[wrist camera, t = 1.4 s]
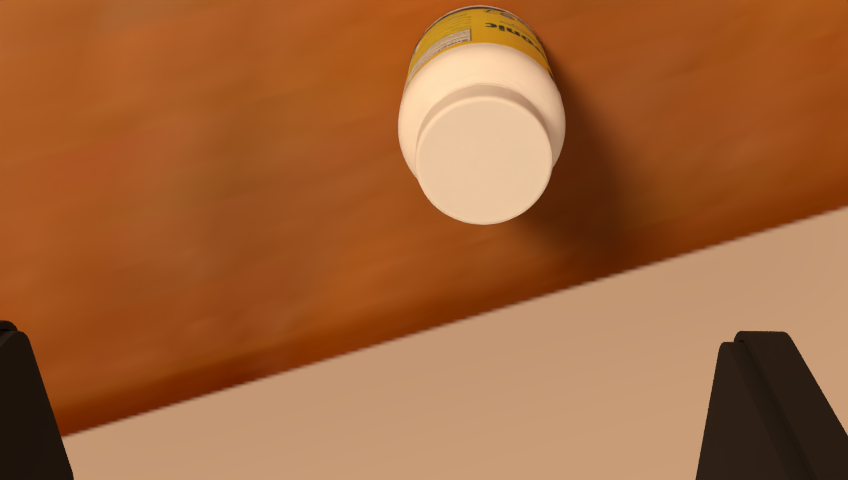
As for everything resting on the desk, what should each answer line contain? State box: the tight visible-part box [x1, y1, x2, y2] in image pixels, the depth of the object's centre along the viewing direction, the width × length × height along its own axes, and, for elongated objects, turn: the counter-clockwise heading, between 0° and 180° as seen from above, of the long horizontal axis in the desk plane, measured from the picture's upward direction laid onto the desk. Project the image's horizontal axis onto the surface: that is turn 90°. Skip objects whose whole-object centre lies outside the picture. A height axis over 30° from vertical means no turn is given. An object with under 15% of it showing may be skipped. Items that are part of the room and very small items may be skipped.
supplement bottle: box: [398, 5, 565, 225], centre depth 27 cm, size 5×5×10 cm
